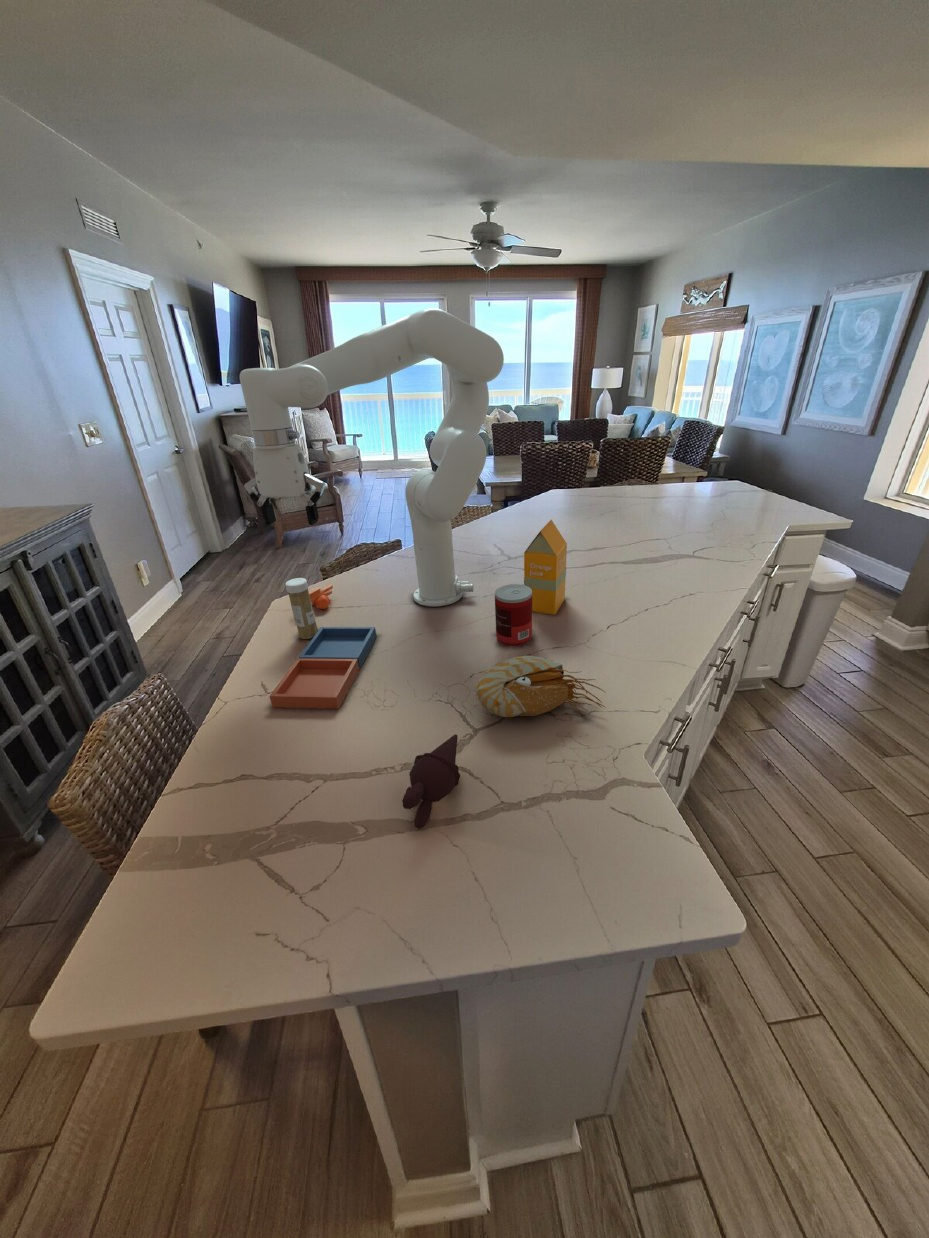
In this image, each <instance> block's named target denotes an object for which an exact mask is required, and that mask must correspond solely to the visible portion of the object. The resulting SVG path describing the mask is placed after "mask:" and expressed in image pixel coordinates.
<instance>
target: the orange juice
mask: <svg viewBox="0 0 929 1238" xmlns="http://www.w3.org/2000/svg"><path fill="white" fill-rule="evenodd" d="M567 548H568V543H567V541H566V540H565V539H564V537H563V535H562V534H561V532H560V530H559V529H558V527H557V526H556V524H555V522H554V521H553V519H550V520H549V521H548V522H547V523H546V524H545V525H544V527H542V528H541V529H540V531H538V533H537V535H536V536H535V537H534V539H532V541H531V543H530V544H529V545H528V546H527V548H526V549H525V551H524V552H523V585H525V586H527V587H529V588H530V589H531V590H532V612H534V613H542V614H548V615H554V616H555V615H556V614H557V613H558V611H559V609H560V608H561V606H562V604H563V603H564V601H565V599H566V579H567V578H566V577H567V554H568V553H567V552H568V551H567Z"/></svg>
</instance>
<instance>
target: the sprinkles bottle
mask: <svg viewBox="0 0 929 1238" xmlns="http://www.w3.org/2000/svg"><path fill="white" fill-rule="evenodd" d="M285 590H286V592H287V594H288V597H289V602H290V607H291V610H292V615H293V618H294V622H295V625H296V628H297V632H298V637H299V638H300V639H303V640H309V639H313V637H314V636H315V635H316V633H317V632H318V631H319V629H318V625H317V622H316V615H315V612H314V607H313V608H312V603H311V600H310V596H309V592H308V591H309V584H308V580H307V579H306V578H305V577H296V578H291V579H289V580H287V581H286V582H285Z"/></svg>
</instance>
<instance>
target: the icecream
mask: <svg viewBox="0 0 929 1238" xmlns="http://www.w3.org/2000/svg"><path fill="white" fill-rule="evenodd" d="M458 737H459V736H458V734H456V733H455V734H453V735H451V737H449V738H447V739H446V740H445V741H444V742H442V743H441V744H440V745H438V747H436V748H434V749H433V750H432V751H431V752H425V753H424V754H418V755H416V756H415V757H414V762H413V765H412V767H411V769H410V771H409V772H408V776H409V783H410V786H408V787H407V788H406V789H405V793H404V794H403V796H402V800H401V803H402V808H403V809H405V810H412V809H414V808H416V807H417V806H418V805H419V806H418V807H417V808H416V809H417V810H416V813H415V816H414V820H413V826H414V828H415V829H419V830H420V829H422V828H424V827H425V826H426V825H427V824H428V822H429V821H430V818H431V815H432V810H433V803H437V802H440V801H441V800H443V799H444V798H445V797H448V796H449V795H450V794H451V793H453V790H454V789H455V788H456V787H457V786H458V785H459V783H460V779H461V773H460V768H459V766H458V764H456V759H457V746H458V740H459V739H458Z"/></svg>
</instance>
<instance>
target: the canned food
mask: <svg viewBox="0 0 929 1238" xmlns="http://www.w3.org/2000/svg"><path fill="white" fill-rule="evenodd" d="M494 613H495V615H494V617H495V636H496V639H497V641H498V642H499V643H500V644H502V645H503V646H507V647H521V646H524V645H526V644H527V643H529V642H530V641H531V639H532V636H533V611H532V590H531V589H530V588H529V587H527V586H525V585H524V584H518V583H512V584H505V585H502V586H499V587H498V588H497V589H496V590H495V592H494Z"/></svg>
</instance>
